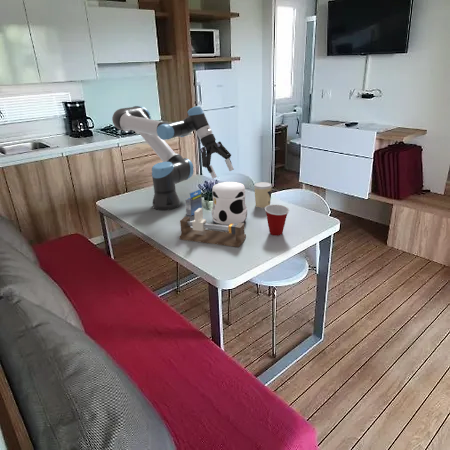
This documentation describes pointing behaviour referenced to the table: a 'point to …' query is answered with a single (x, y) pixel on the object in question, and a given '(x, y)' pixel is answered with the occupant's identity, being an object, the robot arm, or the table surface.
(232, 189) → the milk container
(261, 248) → the table surface
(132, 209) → the table surface
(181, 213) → the table surface
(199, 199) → the label tape box
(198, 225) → the cream stepped block
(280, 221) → the plastic cup
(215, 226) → the metal rail
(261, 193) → the coffee cup
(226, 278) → the table surface
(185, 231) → the wooden rail holder
